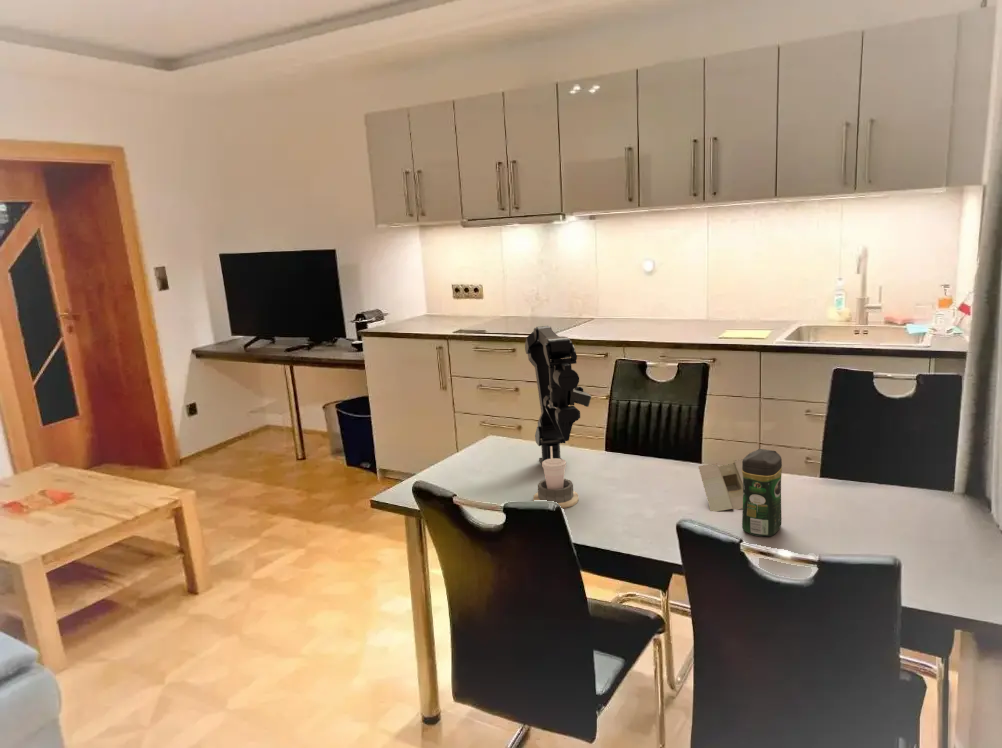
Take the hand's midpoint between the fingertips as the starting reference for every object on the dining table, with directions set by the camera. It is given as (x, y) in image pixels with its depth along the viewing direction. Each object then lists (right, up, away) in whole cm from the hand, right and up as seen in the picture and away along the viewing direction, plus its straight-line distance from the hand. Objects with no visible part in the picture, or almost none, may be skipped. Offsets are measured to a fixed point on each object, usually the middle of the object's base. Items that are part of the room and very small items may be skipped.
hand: (562, 436), depth 201 cm
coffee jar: (+43, -19, -36) cm, 59 cm away
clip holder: (-3, -16, -12) cm, 20 cm away
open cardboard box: (+43, -15, -20) cm, 49 cm away
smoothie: (-3, -15, -12) cm, 20 cm away
